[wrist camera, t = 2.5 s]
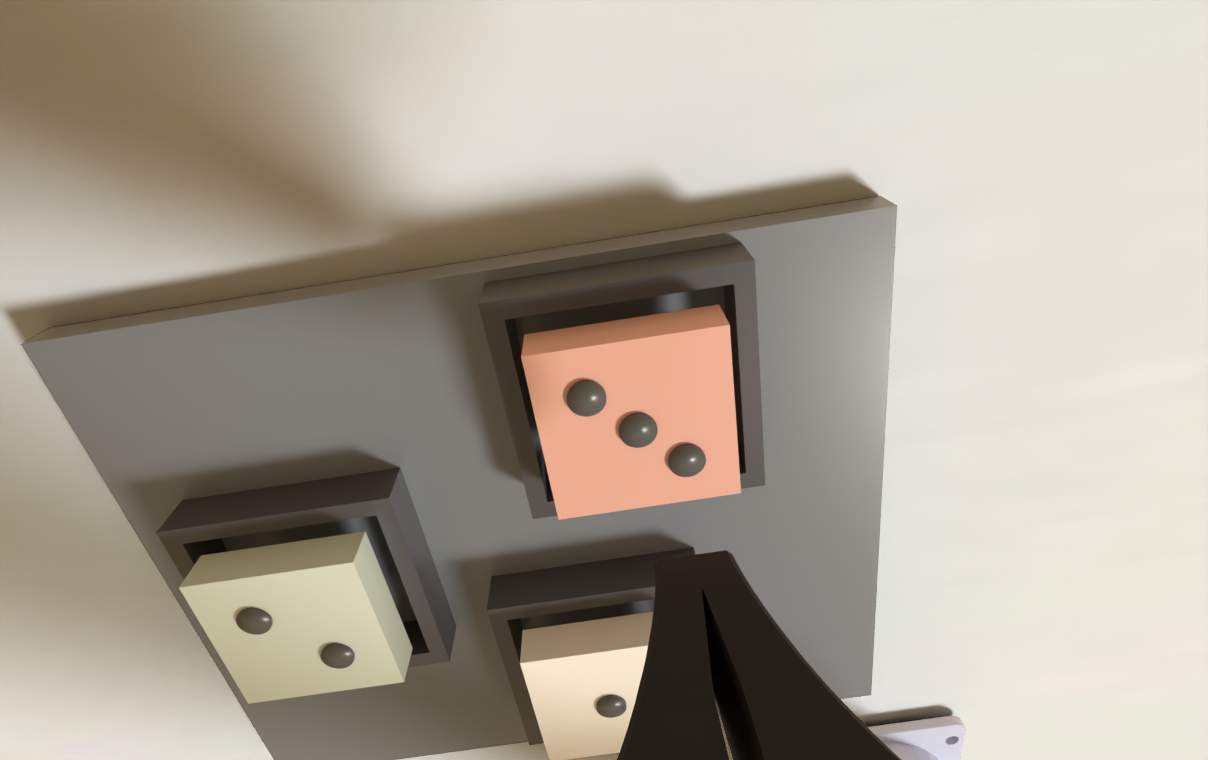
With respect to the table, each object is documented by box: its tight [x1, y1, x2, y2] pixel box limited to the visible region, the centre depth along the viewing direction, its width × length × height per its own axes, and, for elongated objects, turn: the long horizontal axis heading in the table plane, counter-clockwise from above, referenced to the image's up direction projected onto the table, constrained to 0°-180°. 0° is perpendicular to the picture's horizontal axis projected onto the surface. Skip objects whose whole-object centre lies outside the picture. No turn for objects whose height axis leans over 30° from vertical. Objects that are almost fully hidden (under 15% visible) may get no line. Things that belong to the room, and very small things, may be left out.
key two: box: [179, 531, 413, 704], centre depth 19 cm, size 5×5×1 cm
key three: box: [521, 304, 741, 520], centre depth 16 cm, size 5×5×1 cm
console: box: [21, 196, 897, 760], centre depth 21 cm, size 18×22×2 cm
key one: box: [520, 612, 653, 760], centre depth 21 cm, size 5×5×1 cm
